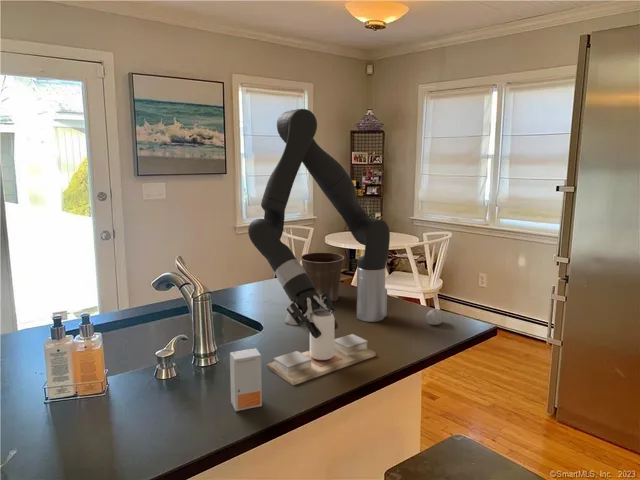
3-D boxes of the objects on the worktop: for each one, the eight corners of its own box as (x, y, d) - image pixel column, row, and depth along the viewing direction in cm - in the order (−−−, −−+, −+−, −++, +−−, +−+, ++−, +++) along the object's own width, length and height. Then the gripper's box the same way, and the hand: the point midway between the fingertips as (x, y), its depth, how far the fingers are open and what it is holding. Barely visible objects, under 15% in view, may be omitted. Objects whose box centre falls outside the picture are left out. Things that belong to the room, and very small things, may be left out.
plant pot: (344, 305, 172) (345, 261, 169) (299, 305, 172) (299, 261, 169) (343, 292, 188) (343, 252, 185) (302, 292, 188) (301, 252, 185)
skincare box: (235, 412, 102) (233, 359, 99) (230, 403, 105) (228, 352, 103) (263, 406, 104) (261, 354, 102) (257, 397, 108) (256, 347, 106)
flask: (280, 324, 154) (280, 294, 152) (290, 317, 160) (289, 288, 158) (301, 327, 151) (300, 296, 149) (310, 319, 158) (310, 290, 156)
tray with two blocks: (346, 342, 139) (346, 330, 138) (375, 355, 130) (375, 343, 129) (266, 367, 123) (266, 354, 122) (293, 385, 113) (293, 371, 113)
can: (331, 362, 122) (332, 317, 120) (307, 359, 123) (307, 315, 121) (336, 351, 128) (336, 309, 126) (312, 349, 130) (312, 307, 127)
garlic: (436, 328, 149) (436, 312, 149) (421, 323, 153) (422, 308, 153) (447, 324, 153) (447, 308, 152) (433, 319, 157) (433, 304, 156)
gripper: (281, 277, 122) (315, 333, 116) (319, 267, 132) (352, 318, 126) (268, 293, 126) (300, 348, 121) (305, 282, 137) (337, 332, 131)
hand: (327, 332), depth 124 cm, fingers closed on can, 6 cm apart
